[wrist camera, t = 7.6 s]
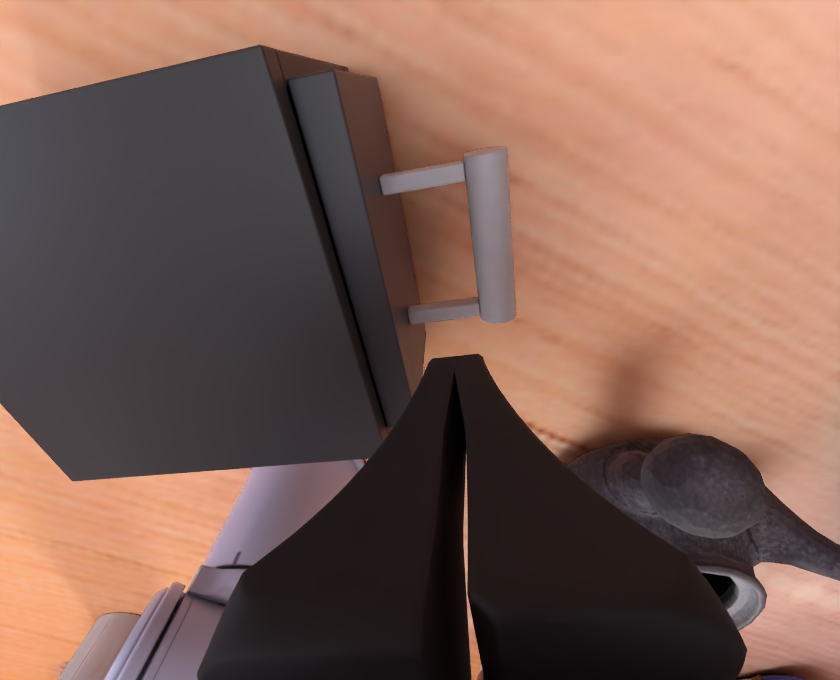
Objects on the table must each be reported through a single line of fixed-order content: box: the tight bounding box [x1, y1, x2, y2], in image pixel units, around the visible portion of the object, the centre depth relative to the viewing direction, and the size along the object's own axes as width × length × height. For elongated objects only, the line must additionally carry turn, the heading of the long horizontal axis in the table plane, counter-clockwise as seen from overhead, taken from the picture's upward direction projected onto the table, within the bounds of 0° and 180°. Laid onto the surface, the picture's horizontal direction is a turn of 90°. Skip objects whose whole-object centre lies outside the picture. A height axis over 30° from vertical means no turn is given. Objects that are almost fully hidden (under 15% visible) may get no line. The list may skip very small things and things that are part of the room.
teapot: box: [566, 433, 840, 631], centre depth 22 cm, size 19×15×10 cm
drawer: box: [288, 69, 516, 428], centre depth 16 cm, size 17×11×7 cm
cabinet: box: [0, 45, 392, 481], centre depth 16 cm, size 14×13×9 cm
